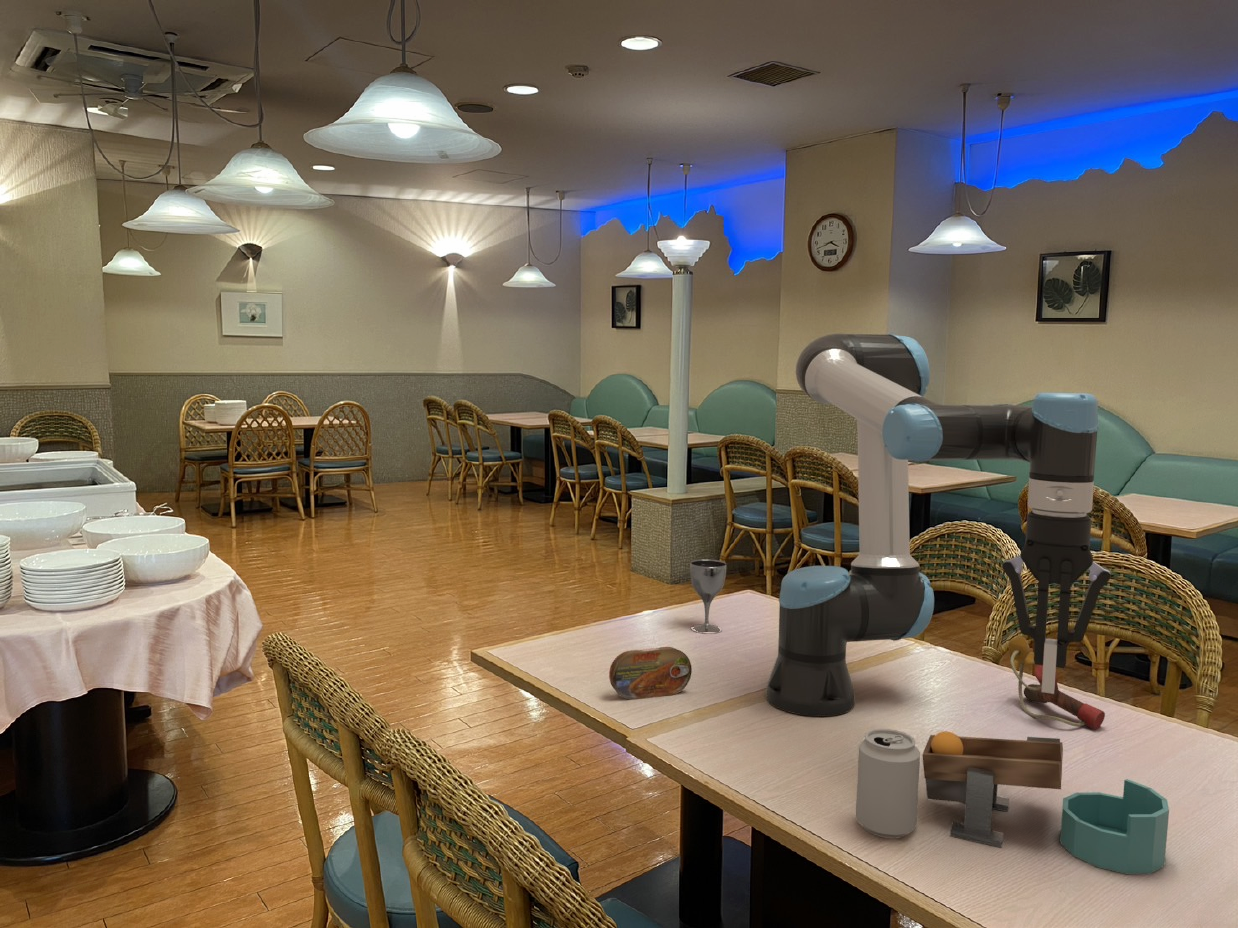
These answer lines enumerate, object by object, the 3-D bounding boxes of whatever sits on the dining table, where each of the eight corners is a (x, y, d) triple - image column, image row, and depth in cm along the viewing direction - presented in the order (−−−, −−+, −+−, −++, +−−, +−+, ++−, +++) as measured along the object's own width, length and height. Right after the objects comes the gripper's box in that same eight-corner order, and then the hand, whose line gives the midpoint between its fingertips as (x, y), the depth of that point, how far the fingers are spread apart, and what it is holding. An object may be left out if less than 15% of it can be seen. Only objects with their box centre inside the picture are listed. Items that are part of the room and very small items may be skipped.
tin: (612, 702, 158) (613, 655, 157) (606, 696, 161) (607, 649, 160) (692, 693, 163) (693, 647, 162) (685, 687, 166) (686, 642, 165)
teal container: (1059, 858, 110) (1063, 802, 109) (1061, 817, 120) (1064, 766, 119) (1167, 883, 105) (1172, 825, 104) (1159, 838, 115) (1164, 785, 114)
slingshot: (1074, 698, 164) (1126, 703, 149) (1041, 742, 162) (1090, 751, 147) (1003, 634, 165) (1047, 633, 150) (969, 677, 163) (1011, 680, 148)
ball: (931, 767, 119) (926, 737, 119) (935, 755, 123) (931, 726, 123) (963, 768, 117) (958, 737, 117) (967, 756, 121) (962, 727, 121)
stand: (950, 835, 115) (954, 771, 114) (962, 794, 126) (965, 735, 125) (1001, 847, 112) (1005, 781, 111) (1008, 804, 123) (1012, 743, 122)
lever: (926, 801, 118) (922, 754, 118) (940, 762, 130) (936, 719, 130) (1063, 813, 111) (1058, 763, 111) (1064, 771, 123) (1060, 726, 122)
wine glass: (687, 633, 200) (688, 565, 198) (690, 623, 208) (691, 558, 206) (723, 635, 199) (725, 567, 197) (725, 625, 206) (727, 560, 205)
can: (847, 812, 120) (851, 725, 119) (902, 811, 121) (906, 724, 120) (867, 842, 113) (871, 749, 111) (925, 840, 113) (931, 748, 112)
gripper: (1002, 512, 117) (992, 690, 119) (1117, 520, 111) (1104, 707, 114) (1006, 505, 124) (997, 673, 126) (1115, 512, 118) (1103, 689, 120)
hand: (1048, 689), depth 120 cm, fingers closed
